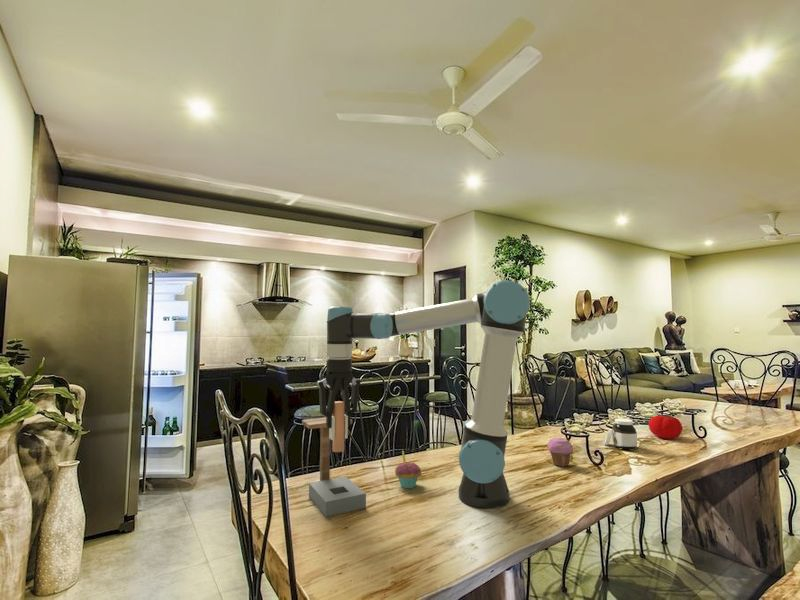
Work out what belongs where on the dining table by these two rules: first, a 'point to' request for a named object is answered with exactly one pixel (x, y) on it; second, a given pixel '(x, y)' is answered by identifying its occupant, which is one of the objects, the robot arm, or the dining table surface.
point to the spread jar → (623, 434)
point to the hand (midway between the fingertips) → (338, 437)
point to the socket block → (337, 496)
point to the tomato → (665, 426)
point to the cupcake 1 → (407, 473)
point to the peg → (338, 426)
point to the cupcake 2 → (560, 451)
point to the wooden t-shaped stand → (322, 445)
